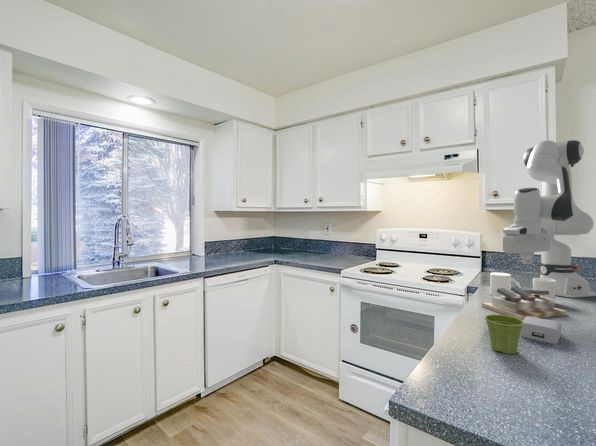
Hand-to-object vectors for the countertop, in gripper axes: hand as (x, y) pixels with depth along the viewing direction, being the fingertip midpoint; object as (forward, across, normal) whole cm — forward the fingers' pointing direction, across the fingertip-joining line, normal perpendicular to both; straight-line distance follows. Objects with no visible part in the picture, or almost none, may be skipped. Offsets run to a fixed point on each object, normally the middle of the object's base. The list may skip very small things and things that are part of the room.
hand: (526, 263), depth 122 cm
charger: (+18, +19, +20) cm, 33 cm away
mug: (+19, -10, -18) cm, 28 cm away
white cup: (+19, -17, -6) cm, 26 cm away
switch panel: (+19, +3, 0) cm, 19 cm away
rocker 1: (+12, +10, 0) cm, 15 cm away
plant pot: (+18, +41, +26) cm, 52 cm away
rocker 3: (+13, -4, 0) cm, 13 cm away
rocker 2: (+12, +2, 0) cm, 13 cm away
